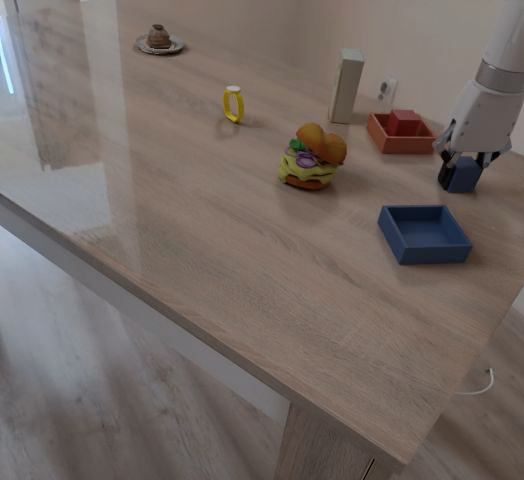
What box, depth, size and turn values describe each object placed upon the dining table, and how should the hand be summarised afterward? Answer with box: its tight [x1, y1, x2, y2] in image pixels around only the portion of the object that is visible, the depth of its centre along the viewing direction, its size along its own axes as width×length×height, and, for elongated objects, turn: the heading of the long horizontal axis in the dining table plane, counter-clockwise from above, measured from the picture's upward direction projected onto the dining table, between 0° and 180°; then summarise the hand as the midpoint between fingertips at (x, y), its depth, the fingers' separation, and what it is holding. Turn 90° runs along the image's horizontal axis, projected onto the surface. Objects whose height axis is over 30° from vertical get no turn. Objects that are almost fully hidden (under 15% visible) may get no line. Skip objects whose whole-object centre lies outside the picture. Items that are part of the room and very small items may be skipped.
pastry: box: [134, 23, 185, 55], centre depth 117 cm, size 12×12×5 cm
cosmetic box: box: [328, 46, 365, 125], centre depth 97 cm, size 6×4×12 cm
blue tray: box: [377, 204, 474, 266], centre depth 74 cm, size 11×11×3 cm
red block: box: [385, 109, 421, 137], centre depth 95 cm, size 4×4×4 cm
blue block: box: [445, 155, 482, 194], centre depth 85 cm, size 4×4×4 cm
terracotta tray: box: [366, 112, 439, 155], centre depth 96 cm, size 11×11×3 cm
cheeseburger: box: [277, 121, 348, 190], centre depth 82 cm, size 10×11×10 cm
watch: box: [222, 85, 245, 123], centre depth 94 cm, size 6×3×6 cm, turn 34°
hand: (455, 183), depth 87 cm, fingers closed on blue block, 4 cm apart
